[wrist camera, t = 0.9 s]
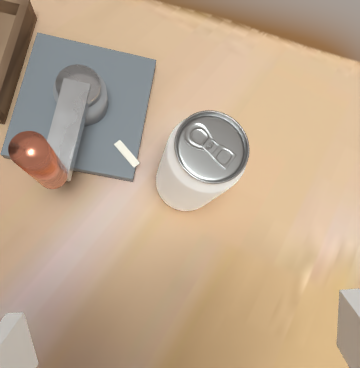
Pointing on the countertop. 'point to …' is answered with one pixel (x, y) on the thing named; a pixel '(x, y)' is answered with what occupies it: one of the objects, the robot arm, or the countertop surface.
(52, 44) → the crank base
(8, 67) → the tray
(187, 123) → the can
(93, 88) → the crank
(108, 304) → the countertop surface
